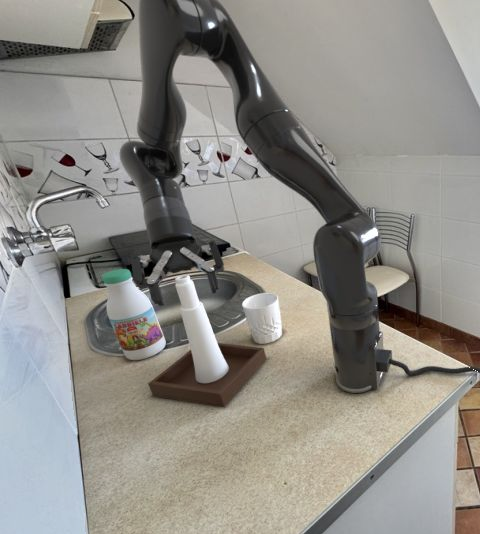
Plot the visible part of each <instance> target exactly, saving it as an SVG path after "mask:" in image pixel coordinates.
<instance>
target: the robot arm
mask: <svg viewBox="0 0 480 534" xmlns="http://www.w3.org/2000/svg"><path fill="white" fill-rule="evenodd" d="M137 4H138V8H137V9H138V10H137V14H138V16H137V17H138V19H137V20H138V37H139V38H138V41H139V59H140V71H141V73H140V74H141V99H140V105H139V111H138V117H137V122H136V133H137V136H138V138H139V139H140V141H139V140H127V141H125V142H124V143H123V144H122V145H121V146H120V148H119V153H118V155H119V160H120V163H121V166H122V167H123V169H124V171H125V172H126V174H127V176H128V177H129V178H130V180H131V181H132V182H133V184H134V186H135V187H136V190H137V191H138V194H139V197H140V201H141V205H142V209H143V221H144V225H145V228H146V233H147V237H148V242H149V246H150V253H149V254H146V255H139V254H137V253H133V254H131V255H130V263H131V271H132V278H133V279H132V281H133V284H134V285H135V286H136V287H137V288H138V289H145V288H146V289H148V291H149V295H150V300H151V301H152V302H153V304H155V305H158V307H163V306H165V302H164V299H163V294H162V291H161V287H160V285H161V283H162V282H163V280H165V279H166V277H167V276H168V275H169V273H172V274H177V273H180V272H183V271H185V272H186V271H192V269H193V268H195V269H196V270H198V271H200V272H203V273H204V274H206V275H207V278H208V282H209V283H208V284H209V286H210V290H211V293H212V294H217V291H218V290H219V289H220V284H219V281H218V278H217V274H219V273H220V272H224V271H225V265H224V260H223V258H222V256H221V253H220V250H219V248H218V245H217V243H216V241H214V240H211V241H209V242H208V244H203V245H200V244H199V243H198V241H197V236H196V233H195V230H194V225H193V222H192V218H191V215H190V212H189V210H188V208H187V206H186V203H185V200H184V196H183V193H182V189H181V186H180V184H179V183H178V182H177V181H176V180H174V179H177V178H178V177H180V176H181V175H182V173H183V169H184V163H183V158H182V157H183V156H182V153H181V141H182V138H183V133H184V132H185V131H184V130H185V127H186V123H187V116H188V113H187V107H186V103H185V101H184V98H183V96H182V93H181V92H180V90H179V88H178V86H177V84H176V82H175V78H174V69H175V66H176V63H177V60H178V59H179V57H180V56H183V57H191V58H201V59H207V60H209V61H210V62H211V63H213V65H214V66H215V67H216V68H217V70H219V72H220V73H221V75H222V76H223V77H224V79H225V80H226V82H227V83H228V85H229V87H230V89H231V93H232V102H233V116H234V123H235V128H236V130H237V133H238V135H239V136H240V139H241V140H242V141H243V143H244V145H246V147H247V148H248V150H249V151H250V152H251V154H252V155H253V156H254V158H255V159H256V161H257V162H258V163H259V164H260V165H261V167H262V168H263V169H264V171H266V172H267V173H268V174H269V175H270V176H272V177H273V178H275V179H276V180H277V181H278V182H280V183H281V184H283V185H284V186H286V187H287V188H289V189H291V190H292V191H293V192H295V193H296V194H298V195H299V196H301V197H302V198H303V199H305V200H306V201H307V202H308V203H310V204H311V205H312V207H314V209H315V210H316V211H317V212H318V213H319V215H320V216H321V218H322V219H323V220H324V222H325V224H323V225H321V226H320V227H319V228H318V229H317V230H316V232H315V234H314V237H313V241H312V242H313V243H312V249H313V250H312V251H313V258H314V259H313V260H314V263H315V264H314V265H315V269H316V274H317V279H318V285H319V289H320V292H321V294H322V296H323V298H324V299H325V301H326V306H327V307H326V309H327V316H328V323H329V331H330V332H329V333H330V339H331V347H332V353H333V354H332V355H333V361H332V363H333V368H334V372H335V373H334V374H335V382H336V385H337V386H338V388H340V389H341V390H342V391H344V392H346V393H351V394H361V393H366V392H369V391H371V390H374V391H375V390H379V389H378V388H379V386H380V384H381V381H382V379H383V375H384V373H389V370H390V366H391V365H392V366H395V367H398V368H400V369H402V370H403V371H404V374H406V375H407V376H410V377H415V376H419V375H421V374H425V373H427V372H438V373H442V374H448V375H450V374H451V375H455V374H456V375H457V374H465V373H472V372H474V373H477V374H478V373H479V374H480V367H479V366H463V367H456V368H448V367H443V366H435V365H428V366H423V367H420V368H418V369H415V370H410V368H409V366H408V365H407V364H405V363H403V362H402V361H398V360H395V359H393V350H390V349H384V333H383V331H381V330H380V318H379V317H380V315H379V299H378V289H377V287H376V286H375V284H374V283H372V282H371V281H367V275H366V267H365V266H366V265H367V264H368V263H370V262H371V260H373V259H374V258H375V257H377V255H378V254H379V253H380V250H381V248H382V236H381V235H382V234H381V232H380V230H379V227H378V226H377V224H376V222H375V221H374V219H373V218H372V217H371V216H370V214H369V213H368V212H367V211H366V210H365V208H364V207H363V206H362V205H361V204H360V203H359V202H358V201H357V200H356V198H355V197H354V196H353V195H352V194H351V192H350V191H349V190H348V189H347V187H345V186H344V184H343V183H342V181H341V180H340V179H339V177H338V176H337V175H336V173H335V172H334V171H333V169H332V168H331V166H330V165H329V163H328V162H327V160H326V159H325V158H324V156H323V155H322V154H321V153H320V151H319V149H317V147H316V146H315V144H314V142H313V141H312V139H311V138H310V136H309V134H308V133H307V132H306V130H305V129H304V127H303V125H301V123H300V122H299V120H298V119H297V117H296V116H295V115H294V114H293V112H292V111H291V109H290V108H289V107H288V105H287V104H286V102H285V101H284V100H283V99H282V97H281V95H279V93H278V92H277V90H276V89H275V87H274V85H273V84H272V82H271V81H270V80H269V78H268V76H267V74H266V73H265V72H264V71H263V69H262V68H261V66H260V65H259V63H258V61H257V60H256V59H255V56H254V55H253V52H252V51H251V50H250V48H249V46H248V44H247V42H246V41H245V39H244V37H243V36H242V34H241V31H240V30H239V29H238V27H237V25H236V23H235V22H234V20H233V19H232V17H231V15H230V14H229V12H228V10H227V9H226V7H224V5H223V4H222V2H221V1H220V0H138V3H137ZM203 253H206V254H207V255H208V256H212V259H213V260H214V261H213V262H214V263H215V264H213V265H211V264H210V263H209V262H207V261H206V260H204V259H203V258H202V254H203ZM150 262H152V263H153V264H155V266H154V267H153V269H152V272H151V274H150V276H149V277H148V278H146V275H145V269H144V268H147V267H148V265H149V263H150ZM469 367H470V368H469ZM473 369H474V370H473ZM475 370H476V371H475ZM477 371H478V372H477Z"/></svg>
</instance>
